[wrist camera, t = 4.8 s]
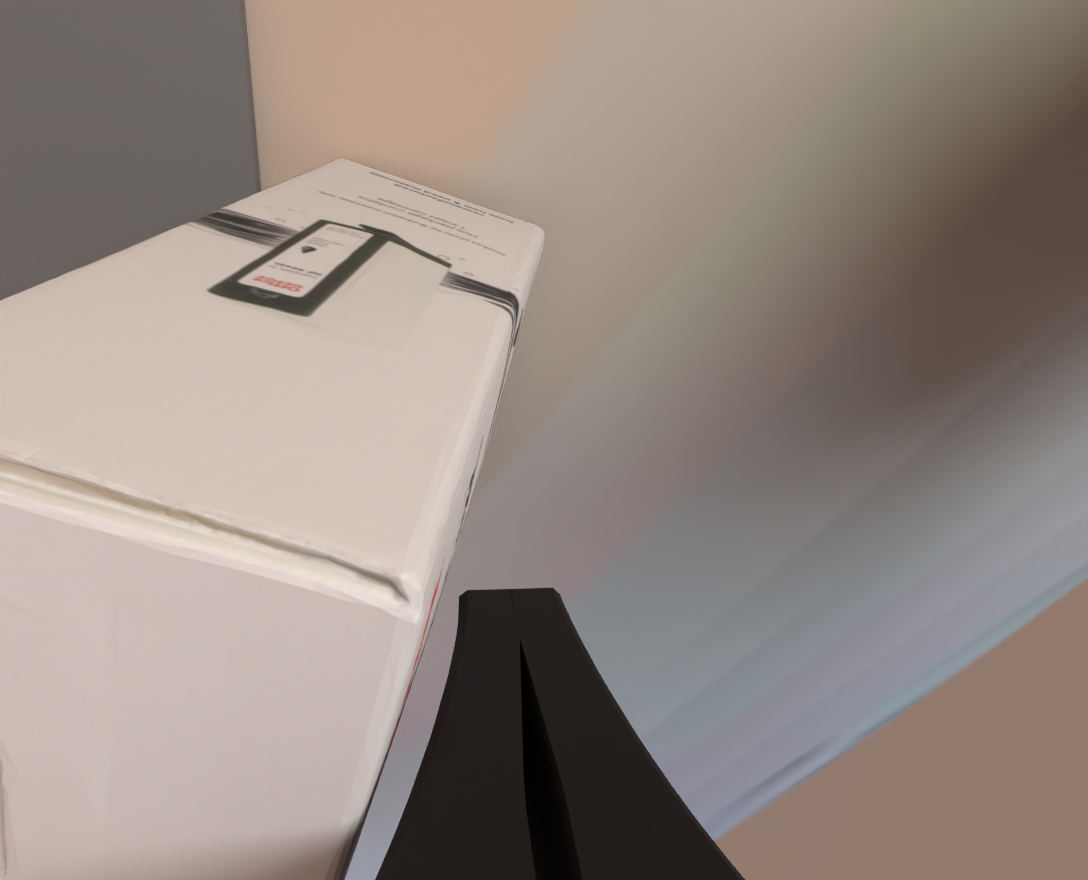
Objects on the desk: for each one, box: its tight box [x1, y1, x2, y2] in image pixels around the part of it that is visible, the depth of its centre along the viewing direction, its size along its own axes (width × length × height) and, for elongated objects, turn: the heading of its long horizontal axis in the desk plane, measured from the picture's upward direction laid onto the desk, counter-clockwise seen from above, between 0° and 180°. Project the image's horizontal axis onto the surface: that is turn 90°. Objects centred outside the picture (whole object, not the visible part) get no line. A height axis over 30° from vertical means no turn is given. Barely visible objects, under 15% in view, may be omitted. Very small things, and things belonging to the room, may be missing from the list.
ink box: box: [0, 158, 545, 880], centre depth 12 cm, size 9×5×12 cm, turn 162°
